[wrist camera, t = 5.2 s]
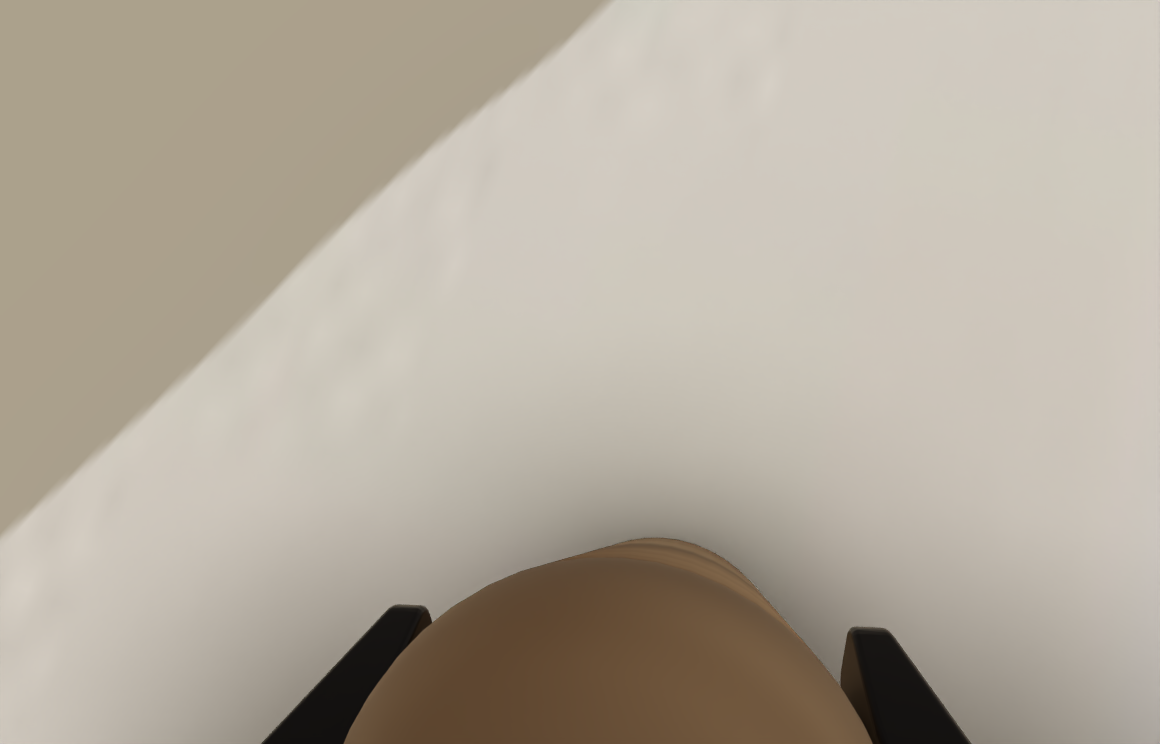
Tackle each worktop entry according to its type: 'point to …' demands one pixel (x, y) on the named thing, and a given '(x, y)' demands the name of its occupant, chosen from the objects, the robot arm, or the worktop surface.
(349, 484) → the worktop surface
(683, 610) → the dome-topped wooden peg
